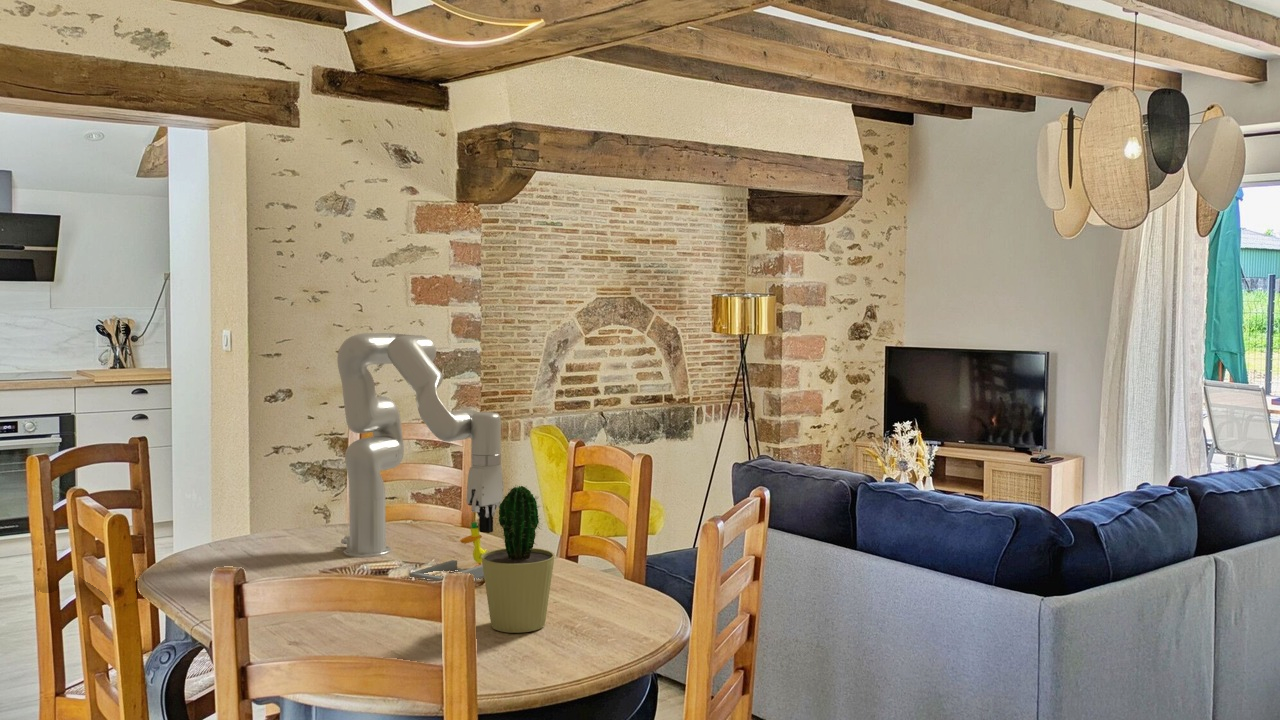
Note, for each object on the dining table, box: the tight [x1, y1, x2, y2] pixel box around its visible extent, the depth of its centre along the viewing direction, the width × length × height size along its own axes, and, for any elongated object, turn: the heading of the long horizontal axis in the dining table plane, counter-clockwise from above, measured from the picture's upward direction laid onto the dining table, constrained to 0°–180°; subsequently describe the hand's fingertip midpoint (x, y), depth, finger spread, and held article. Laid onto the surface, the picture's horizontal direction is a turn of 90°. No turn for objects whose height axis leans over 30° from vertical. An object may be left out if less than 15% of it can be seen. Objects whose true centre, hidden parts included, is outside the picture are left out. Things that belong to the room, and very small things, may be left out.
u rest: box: [408, 559, 484, 583], centre depth 258 cm, size 12×16×3 cm
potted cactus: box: [481, 485, 555, 634], centre depth 222 cm, size 15×15×30 cm
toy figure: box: [459, 522, 488, 567], centre depth 270 cm, size 7×4×12 cm, turn 120°
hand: (486, 531), depth 271 cm, fingers closed
